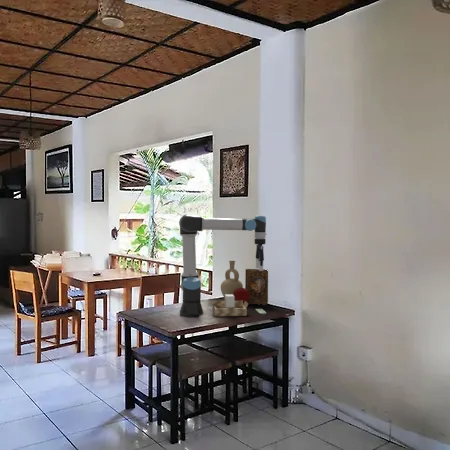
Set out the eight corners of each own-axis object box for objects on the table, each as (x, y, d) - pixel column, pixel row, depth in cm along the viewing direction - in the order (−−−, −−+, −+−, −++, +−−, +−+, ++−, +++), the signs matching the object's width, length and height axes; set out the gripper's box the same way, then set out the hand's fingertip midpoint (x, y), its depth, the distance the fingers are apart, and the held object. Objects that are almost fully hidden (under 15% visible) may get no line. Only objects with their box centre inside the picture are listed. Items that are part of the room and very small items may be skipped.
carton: (212, 317, 306) (213, 304, 306) (210, 313, 319) (210, 300, 319) (248, 316, 310) (248, 304, 310) (244, 312, 323) (244, 300, 322)
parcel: (226, 315, 310) (226, 296, 309) (224, 312, 317) (224, 294, 316) (234, 314, 311) (234, 296, 310) (232, 312, 318) (232, 294, 317)
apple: (250, 307, 341) (251, 288, 341) (234, 307, 340) (234, 288, 339) (247, 303, 353) (247, 285, 353) (231, 303, 352) (232, 285, 351)
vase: (247, 301, 361) (247, 261, 360) (229, 304, 351) (229, 262, 350) (233, 298, 374) (234, 259, 373) (215, 300, 364) (216, 260, 363)
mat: (248, 314, 318) (248, 313, 318) (244, 310, 330) (244, 309, 330) (266, 313, 320) (266, 312, 320) (261, 310, 332) (262, 308, 332)
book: (244, 304, 350) (245, 269, 350) (245, 302, 356) (245, 268, 355) (267, 305, 349) (268, 270, 348) (267, 303, 354) (268, 269, 354)
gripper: (268, 239, 321) (268, 271, 322) (262, 237, 346) (261, 267, 346) (257, 239, 320) (256, 271, 321) (252, 237, 345) (251, 267, 346)
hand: (259, 269), depth 334 cm, fingers open, 13 cm apart
